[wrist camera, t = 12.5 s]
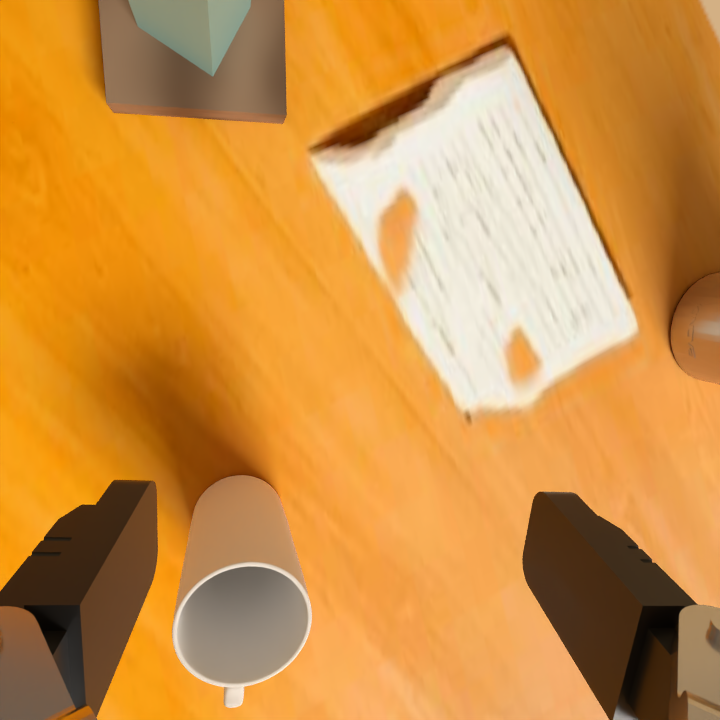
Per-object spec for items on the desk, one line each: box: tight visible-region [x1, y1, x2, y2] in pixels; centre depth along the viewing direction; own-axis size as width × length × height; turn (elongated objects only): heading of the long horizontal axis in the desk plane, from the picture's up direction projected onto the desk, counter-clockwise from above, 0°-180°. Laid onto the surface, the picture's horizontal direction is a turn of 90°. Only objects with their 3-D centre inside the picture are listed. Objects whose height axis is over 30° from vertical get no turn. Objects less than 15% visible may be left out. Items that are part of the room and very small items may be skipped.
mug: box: [172, 475, 312, 707], centre depth 32 cm, size 10×7×12 cm, turn 172°
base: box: [98, 0, 287, 124], centre depth 31 cm, size 10×10×2 cm
